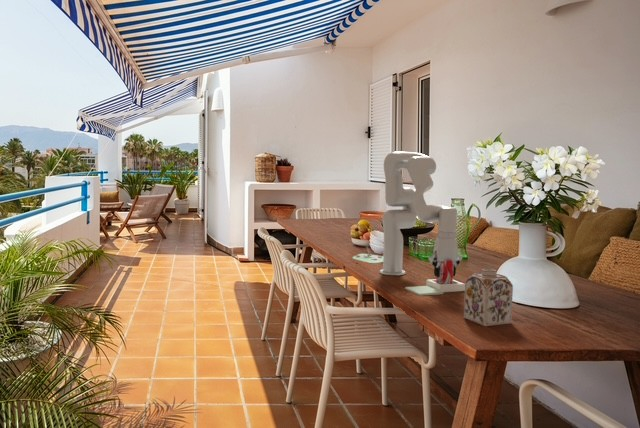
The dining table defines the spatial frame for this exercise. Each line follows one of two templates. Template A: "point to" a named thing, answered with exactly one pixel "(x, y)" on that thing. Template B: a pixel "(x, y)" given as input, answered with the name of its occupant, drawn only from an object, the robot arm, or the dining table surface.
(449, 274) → the soda can
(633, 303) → the dining table surface
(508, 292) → the decorative jar
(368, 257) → the pale green dish
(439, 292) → the sage mat
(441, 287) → the can holder
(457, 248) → the robot arm
